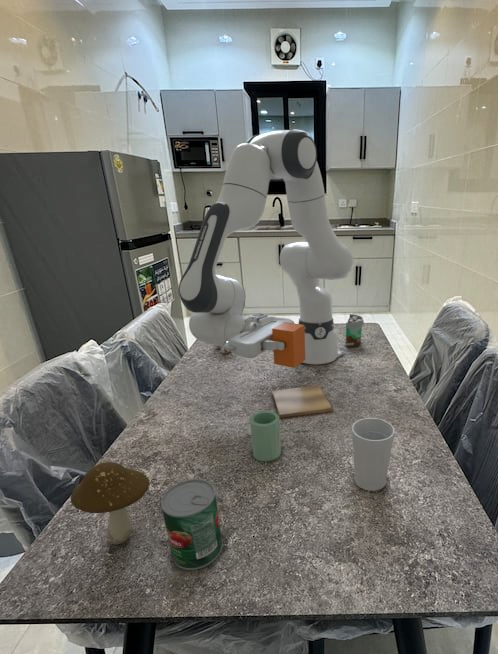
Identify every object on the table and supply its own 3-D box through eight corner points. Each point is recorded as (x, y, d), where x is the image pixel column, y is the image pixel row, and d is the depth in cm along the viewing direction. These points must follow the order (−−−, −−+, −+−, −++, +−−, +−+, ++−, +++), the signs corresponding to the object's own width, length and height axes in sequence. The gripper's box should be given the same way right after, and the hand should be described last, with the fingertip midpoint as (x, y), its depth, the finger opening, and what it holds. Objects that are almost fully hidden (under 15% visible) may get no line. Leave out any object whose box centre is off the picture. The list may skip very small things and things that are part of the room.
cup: (343, 473, 79) (344, 423, 74) (376, 463, 81) (379, 414, 77) (362, 498, 72) (365, 445, 67) (398, 486, 75) (403, 434, 70)
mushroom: (151, 560, 60) (131, 484, 54) (76, 565, 60) (48, 489, 54) (167, 516, 69) (152, 446, 63) (102, 520, 68) (80, 450, 62)
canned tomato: (161, 561, 60) (148, 507, 55) (192, 524, 67) (182, 474, 62) (204, 577, 57) (194, 521, 53) (232, 537, 64) (225, 485, 60)
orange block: (274, 364, 93) (272, 328, 89) (285, 356, 97) (284, 321, 94) (294, 368, 90) (292, 331, 87) (305, 359, 95) (304, 324, 91)
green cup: (251, 446, 88) (248, 412, 84) (278, 443, 89) (276, 409, 85) (254, 463, 82) (251, 427, 78) (283, 459, 83) (281, 423, 80)
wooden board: (272, 393, 111) (272, 390, 111) (319, 388, 114) (319, 385, 114) (279, 418, 99) (279, 414, 98) (332, 411, 102) (332, 407, 101)
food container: (361, 349, 143) (362, 323, 139) (345, 348, 144) (346, 322, 140) (364, 338, 154) (365, 314, 150) (349, 337, 155) (349, 313, 151)
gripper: (216, 333, 87) (267, 342, 81) (265, 311, 104) (311, 317, 98) (219, 359, 90) (269, 369, 84) (267, 333, 106) (311, 340, 101)
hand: (292, 341), depth 91 cm, fingers closed on orange block, 5 cm apart
